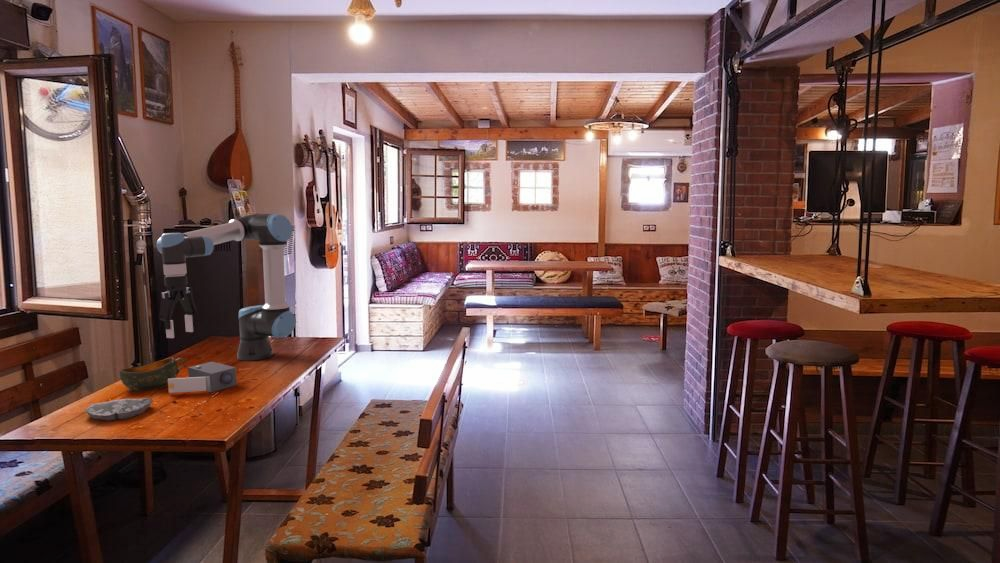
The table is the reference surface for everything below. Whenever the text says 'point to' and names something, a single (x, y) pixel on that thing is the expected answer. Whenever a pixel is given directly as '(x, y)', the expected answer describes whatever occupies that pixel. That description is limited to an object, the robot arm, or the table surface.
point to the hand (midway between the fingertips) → (180, 334)
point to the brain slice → (118, 409)
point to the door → (189, 384)
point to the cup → (151, 375)
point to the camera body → (215, 374)
